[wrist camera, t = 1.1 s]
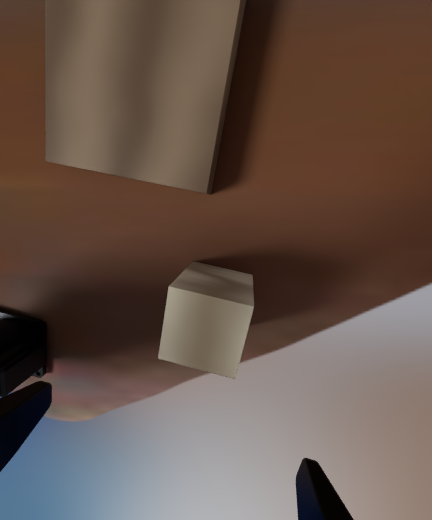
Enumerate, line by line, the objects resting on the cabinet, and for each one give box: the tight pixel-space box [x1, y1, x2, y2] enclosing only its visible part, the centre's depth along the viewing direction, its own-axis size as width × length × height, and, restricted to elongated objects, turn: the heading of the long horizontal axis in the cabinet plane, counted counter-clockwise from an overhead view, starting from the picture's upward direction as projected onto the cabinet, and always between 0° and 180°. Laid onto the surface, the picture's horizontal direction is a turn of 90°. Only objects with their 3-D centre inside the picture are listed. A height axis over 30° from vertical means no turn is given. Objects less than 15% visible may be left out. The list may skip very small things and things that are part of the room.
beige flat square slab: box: [45, 0, 246, 194], centre depth 15 cm, size 12×12×2 cm
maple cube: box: [158, 261, 254, 379], centre depth 17 cm, size 5×5×6 cm
